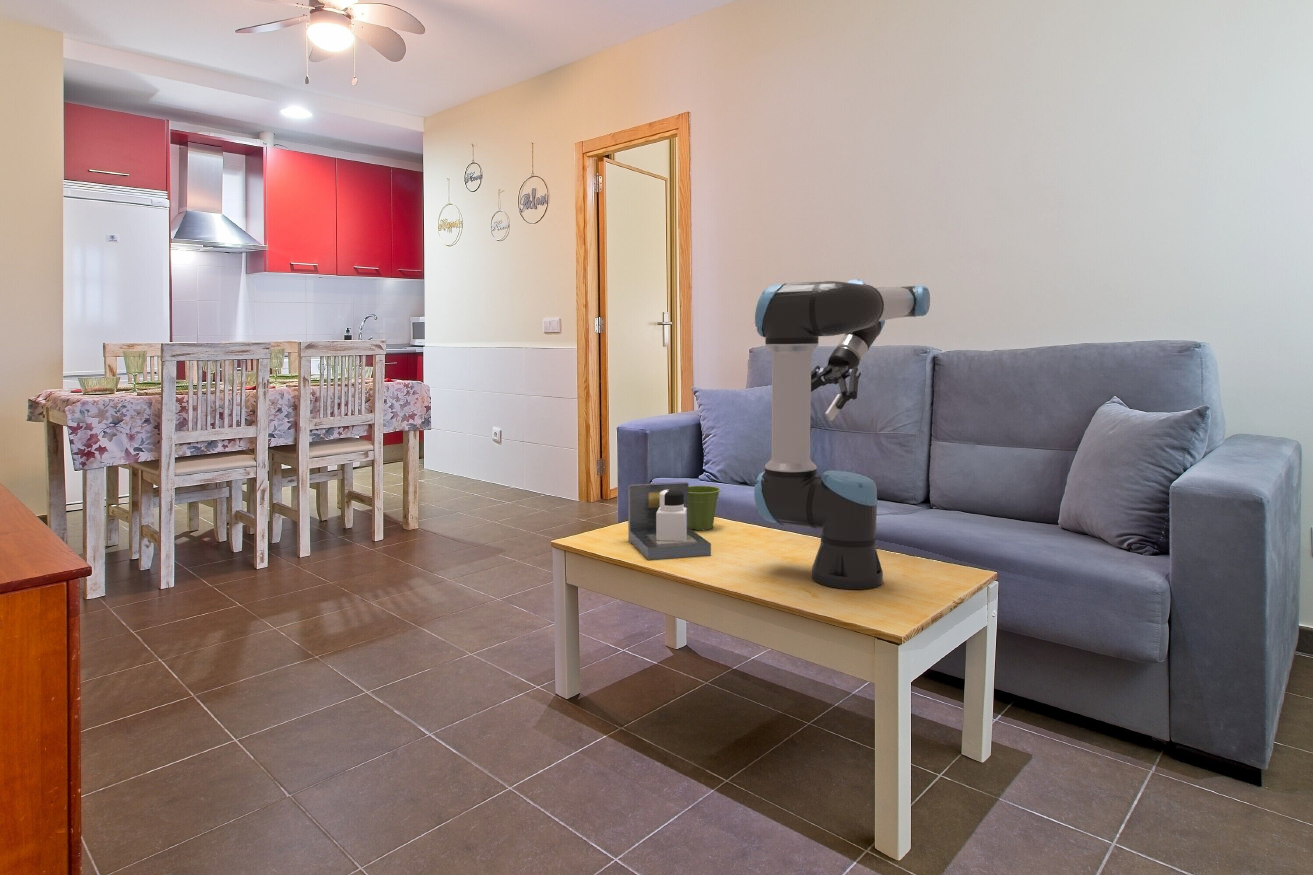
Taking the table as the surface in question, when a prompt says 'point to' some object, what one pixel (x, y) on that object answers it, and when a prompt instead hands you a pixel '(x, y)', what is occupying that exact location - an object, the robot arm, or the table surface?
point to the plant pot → (702, 506)
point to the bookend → (644, 524)
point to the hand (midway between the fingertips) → (807, 415)
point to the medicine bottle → (671, 516)
